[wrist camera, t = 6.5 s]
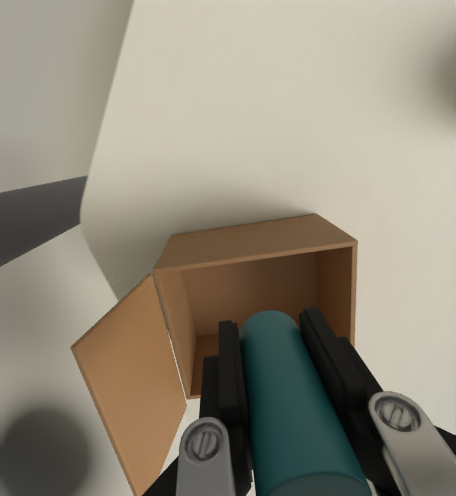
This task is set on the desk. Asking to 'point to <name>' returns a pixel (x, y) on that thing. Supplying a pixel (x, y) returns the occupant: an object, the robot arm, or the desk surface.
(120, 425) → the flap
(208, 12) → the desk surface
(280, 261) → the carton
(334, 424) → the teal cylinder
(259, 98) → the desk surface
